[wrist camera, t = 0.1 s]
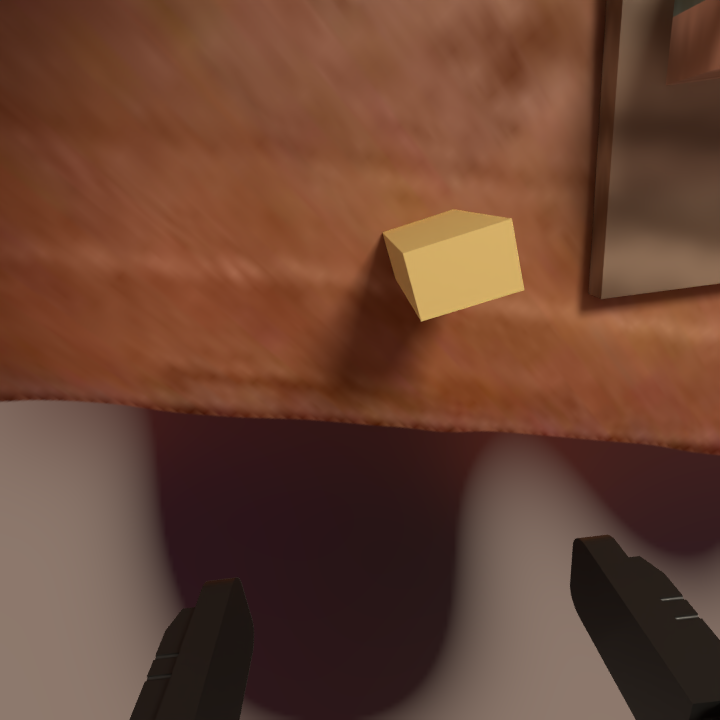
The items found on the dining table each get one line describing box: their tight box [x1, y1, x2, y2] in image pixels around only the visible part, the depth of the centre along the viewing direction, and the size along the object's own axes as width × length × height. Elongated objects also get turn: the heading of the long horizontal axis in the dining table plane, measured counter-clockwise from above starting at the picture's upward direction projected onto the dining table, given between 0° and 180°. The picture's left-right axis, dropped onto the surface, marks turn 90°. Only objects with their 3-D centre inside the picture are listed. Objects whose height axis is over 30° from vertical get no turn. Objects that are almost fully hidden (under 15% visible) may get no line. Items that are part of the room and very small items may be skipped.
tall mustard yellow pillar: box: [382, 209, 524, 321], centre depth 30 cm, size 4×6×13 cm, turn 107°
